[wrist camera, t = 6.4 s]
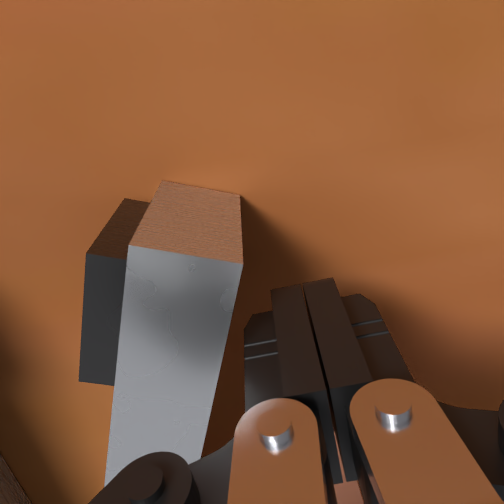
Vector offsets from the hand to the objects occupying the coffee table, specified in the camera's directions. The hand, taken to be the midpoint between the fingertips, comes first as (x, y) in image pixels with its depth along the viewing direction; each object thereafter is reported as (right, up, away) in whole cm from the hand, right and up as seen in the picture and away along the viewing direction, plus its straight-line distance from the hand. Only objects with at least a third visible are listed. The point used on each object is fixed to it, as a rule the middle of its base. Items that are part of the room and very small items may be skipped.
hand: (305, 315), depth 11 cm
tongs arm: (-4, -4, +4) cm, 7 cm away
